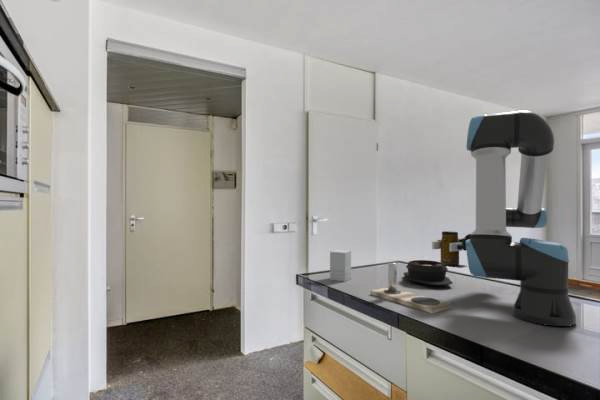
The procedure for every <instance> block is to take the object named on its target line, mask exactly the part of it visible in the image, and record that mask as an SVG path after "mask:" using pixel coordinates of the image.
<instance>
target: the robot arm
mask: <svg viewBox="0 0 600 400" xmlns="http://www.w3.org/2000/svg"><path fill="white" fill-rule="evenodd" d="M553 132H554V131H552V128H551V126H550V125H549V123H548V122H547V120H545V119H544V118H543V117H542V116H541V115H540V114H538V113H536V112H532V111H529V110H518V111H510V112H509V111H508V112H499V113H498V112H497V113H485V114H481V115H475V116H473V117H472V118H471V119H470V121H469V125H468V130H467V138H466V145H465V147H466V151H469V152H470V155H471V157H473V158H474V160H475V229H474V230H473V232H471V233H468V234H466V235H465V236H464V238H463V237H462V238H458V240H459V243H449V251H450V252H453V251H459V252H461V251H464V252H465V251H466V257H467V264H468V265H467V266H468V270H469V273H470V274H471V275H472V276H473V277H478V278H485V279H496V280H508V281H519V282H520V284H519V285H520V286H519V287H520V289H519V292H518V295H517V297H516V299H515V302H514V305H513V316H515V317H516V316H517V317H516V318H518V319H520V318H521V320H523V319H524V320H523V321H525V320H527V321H526V322H528V321H530V322H529V323H532V322H533V323H532V324H536V323H539V324H538V325H541V324H546V325H554V326H570V325H574V324H577V315H576V312H575V310H574V308H573V307H574V306H573V304H572V301H571V299H570V297H569V263H570V260H569V250H568V248H567V246H566V245H564V244H562V243H560V242H559V243H558V242H554V241H549V240H543V239H537V238H531V237H521V238H520V239H519V241H517V242H516V241H513V236H512V234H510V233H509V232H508V231H507V228H524V229H525V228H526V229H527V228H529V229H539V228H540V229H543V228H545V227H546V226H547V223H548V213H547V210H546V209H545V208H542V206H543V198H544V190H545V184H546V176H547V169H548V161H549V155H550V154H552V152H553V151H554V148H555V147H554V146H555V137H554V133H553ZM513 148H516V149H517V148H518V151H517V152H518V153H520V156H521V158H520V166H519V167H520V168H519V182H518V194H517V195H518V197H517V205H516V206H517V207H507V190H506V189H507V187H506V186H507V184H506V183H507V182H506V180H507V179H506V167H507V166H506V159H507V157H508V156H509V155H510V154H511V153H512V149H513ZM431 249H432V250H441V239H437V240H436V241H434V240H433V241H431ZM546 325H545V326H546ZM554 326H553V327H554ZM574 326H575V325H574Z"/></svg>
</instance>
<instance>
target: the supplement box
mask: <svg viewBox="0 0 600 400" xmlns="http://www.w3.org/2000/svg"><path fill="white" fill-rule="evenodd" d="M329 274H330V275H329V277H330V281H336V282H347V281H349V280H351V279H352V251H351V250H346V249H344V250H343V249H335V250H331V251H330V252H329Z"/></svg>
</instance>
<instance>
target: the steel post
mask: <svg viewBox="0 0 600 400" xmlns="http://www.w3.org/2000/svg"><path fill="white" fill-rule="evenodd" d="M387 265H388V267H387V268H388V269H387V273H388V274H387V287H388V292H391V293H395V292H397V289H398V288H397V287H398V286H397V283H398V282H397V280H398V279H397V278H398V277H397V272H398V271H397V268H398V265H397V262H388V264H387Z"/></svg>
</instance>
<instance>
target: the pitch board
mask: <svg viewBox="0 0 600 400" xmlns="http://www.w3.org/2000/svg"><path fill="white" fill-rule="evenodd" d="M370 295H372V296H374V297H377V298H382V299H385V300H388V301H390V302H391V301H392V302H394V303H398V304H400V305H403V306H407V307H411V308H413V309H417V310H421V311H422V312H426V313H430V314H436V313H438V312H442V311H445V310H448V309H452V303H450V302H447V301H444V300H439V299H437V298H436V299H435V298H432V297H429V296H426V295H425V296H424V295H421V294H418V293H414V292H409V291H407V290H404V289H403V290H402V289H399V288H397V292H395V293H391V292H388V286H387V287H386V286H385V287H380V288H375V289H370Z"/></svg>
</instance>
